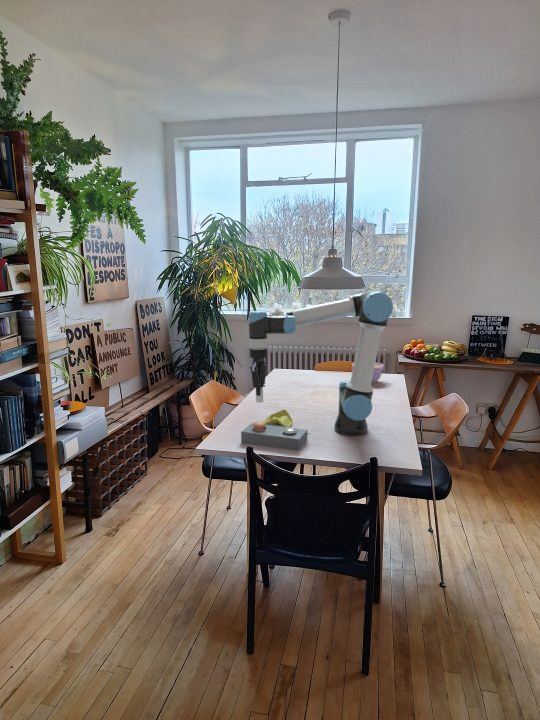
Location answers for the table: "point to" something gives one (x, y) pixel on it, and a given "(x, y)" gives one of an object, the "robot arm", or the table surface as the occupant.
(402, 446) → the table surface
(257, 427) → the terracotta button
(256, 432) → the block
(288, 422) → the yellow-green crumpled fabric
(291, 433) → the grey button
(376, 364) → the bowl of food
